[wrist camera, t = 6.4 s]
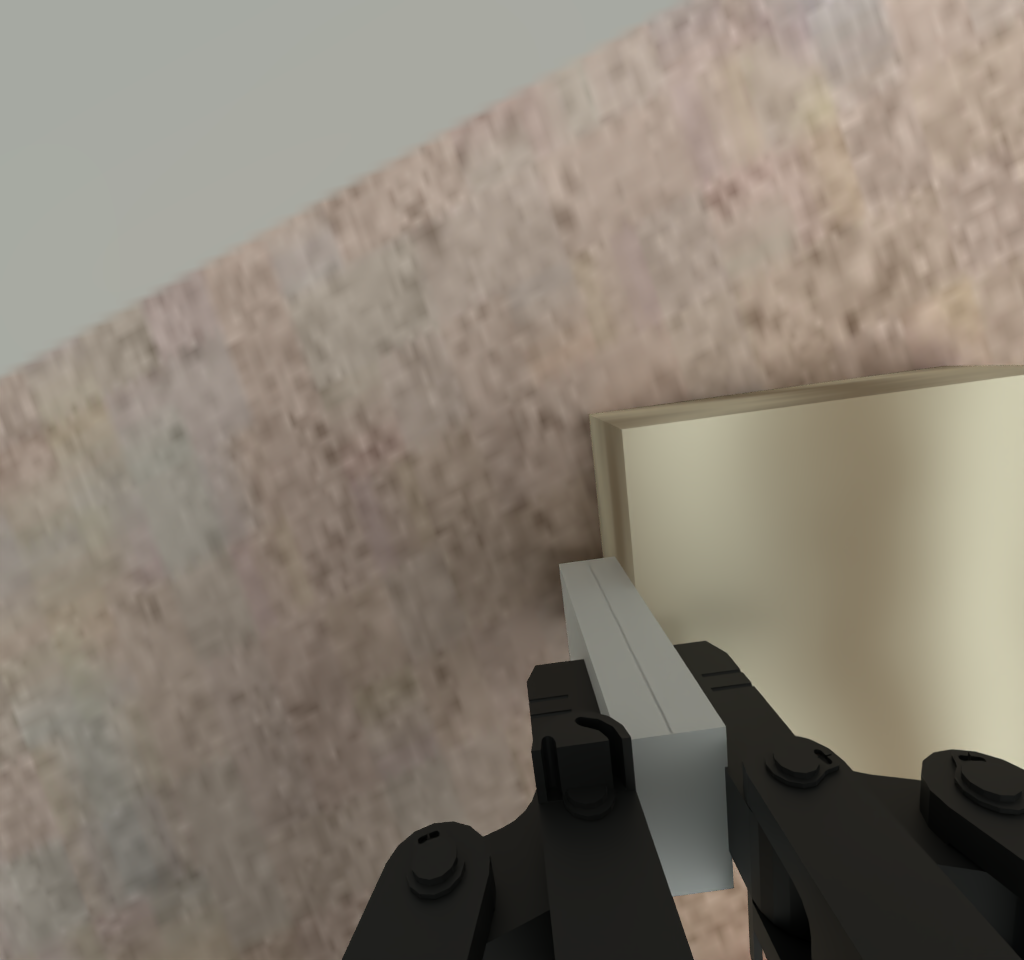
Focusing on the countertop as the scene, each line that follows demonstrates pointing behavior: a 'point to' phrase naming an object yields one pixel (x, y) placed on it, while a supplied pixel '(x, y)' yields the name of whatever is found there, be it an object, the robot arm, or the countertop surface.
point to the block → (840, 551)
